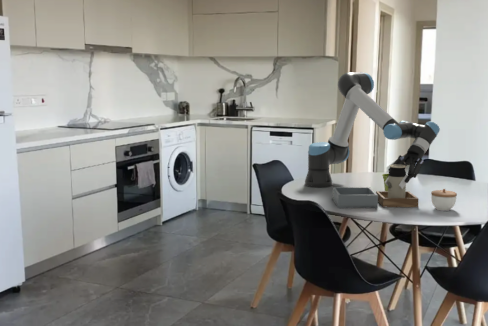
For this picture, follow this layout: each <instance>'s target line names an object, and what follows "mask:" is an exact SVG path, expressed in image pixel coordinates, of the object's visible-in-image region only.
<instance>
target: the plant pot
mask: <svg viewBox="0 0 488 326" xmlns="http://www.w3.org/2000/svg"><path fill="white" fill-rule="evenodd" d="M388 175H389V173H383V174H382V175H381V176H382V178H383V186H384V191H388V186H387V185H386V184H385V181H386V179H387V177H388Z"/></svg>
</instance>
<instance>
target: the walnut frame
mask: <svg viewBox="0 0 488 326" xmlns="http://www.w3.org/2000/svg"><path fill="white" fill-rule="evenodd" d="M375 193H376V194H377V195H378V204H380V206H381V207H382V208H419V200H420V199H419V197H417V196H416V195H415V194H413V193H411V192H410V191H409V190H408V191H407V190H406V192H405V198H388V191H385V190H384V191H383V190H380V191H378V190H377V191H375Z"/></svg>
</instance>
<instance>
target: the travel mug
mask: <svg viewBox="0 0 488 326" xmlns="http://www.w3.org/2000/svg"><path fill="white" fill-rule="evenodd" d="M406 167H407V166H405V165H396V164H395V165H393V164H390V165H389V168H390V171H389V170H388V174H389V178H388V198H405V192H406V191H407V189H406V188H407V187H406V186H407V184H406V185H405V186H404V188H403V189H401V188H400V187H399V184H400V183H401V181H402V180H403V178H404V177H405V175H407V171H406Z"/></svg>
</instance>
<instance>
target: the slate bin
mask: <svg viewBox="0 0 488 326" xmlns="http://www.w3.org/2000/svg"><path fill="white" fill-rule="evenodd" d="M332 200H333V202H334V204H335V206H336V207H337V209H378V206H379V205H378V204H379V202H378V195H377V194H376V191H374V190H373V189H372V188H371V187H369V186H363V187H361V186H358V187H355V186H354V187H353V186H352V187H351V186H347V187H345V186H343V187H341V186H338V187H337V186H336V187H335V186H334V187H332Z"/></svg>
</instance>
